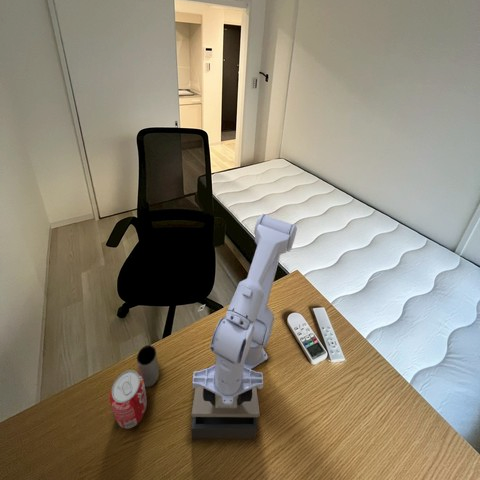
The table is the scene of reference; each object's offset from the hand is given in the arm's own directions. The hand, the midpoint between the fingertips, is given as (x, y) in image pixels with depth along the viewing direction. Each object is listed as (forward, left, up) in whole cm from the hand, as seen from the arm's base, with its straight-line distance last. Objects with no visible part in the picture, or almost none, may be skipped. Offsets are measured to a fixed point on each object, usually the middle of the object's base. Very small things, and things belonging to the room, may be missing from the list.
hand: (226, 399), depth 54 cm
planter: (-17, -14, -10) cm, 24 cm away
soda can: (-12, -19, -10) cm, 25 cm away
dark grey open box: (-2, +1, -10) cm, 10 cm away
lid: (-2, +1, -3) cm, 3 cm away
